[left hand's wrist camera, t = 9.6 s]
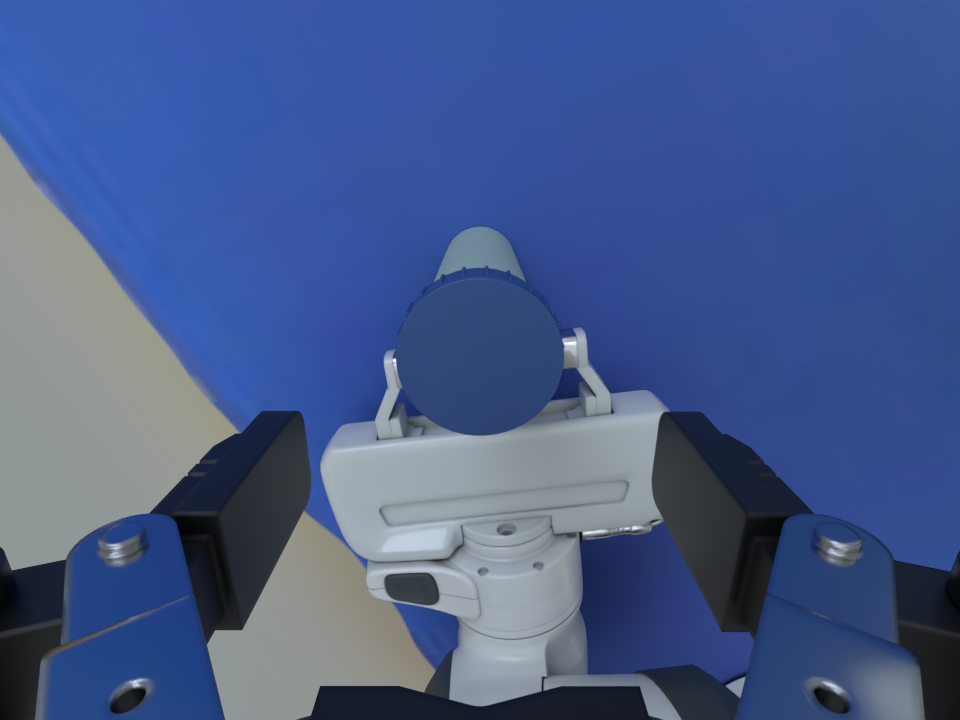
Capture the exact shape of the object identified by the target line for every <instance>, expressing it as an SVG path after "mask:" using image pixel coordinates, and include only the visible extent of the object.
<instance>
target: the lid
mask: <svg viewBox="0 0 960 720" xmlns="http://www.w3.org/2000/svg"><path fill="white" fill-rule="evenodd" d="M548 307H550V306H549V304H548V302H547V300H546V298H545V297H544V295H543V296H542V297H541V295H540V294H539V293H538V292H537V291H536V290H535V289H534V288H533V287H532V286H531V284H530V282H529V281H528V280H527V281H526V282H525V281H523V280H522V279H520V278H518V277H517V276H515V275H512V274H511V272H510V271H509V270H507V272H504V271H501V270H497V269H491V268H488V266H486V265H485V268H469V269H466V267H462V270H459V271H455V272H453V273H450V274H448V275H445V274H442V275H441V277H440V279H438V280H436V281H435V282H434V283H432V284H431V285H430V286H428V287H426V286H425V287H424V288H423V290H422V292H421V294H420V296H419V297H418V298H417V300H416V301H415V302H414V304H413V303H411V304H410V306H409V308H408V310H407V312H406V314H405V315H407V317H406V319H405V321H404V322H403V323H402V325H401V327H400V329H399V331H398V334H397V335H398V336H399V337H398V341H397V346H396V354H395V357H396V367H397V372H398V377H399V380H400V383H401V385H402V388H403V390H404V392H405V394H406V395H407V397H408V398H409V400H410V401H411V403H412V404H413V405H414V406H415V407H416V409H417V410H418V411H419V412H420V413H422V414H423V415H424V416H425V417H426V418H428V419H429V420H430V421H432V422H433V423H435V424H437V425H439V426H441V427H442V428H445V429H447V430H450V431H453V432H456V433H460V434H465V435H473V436H487V435H495V434H500V433H504V432H507V431H510V430H513V429H515V428H517V427H519V426H521V425H523V424H525V423H527V422H528V421H530V420H531V419H533V418H534V417H535V416H536V415H537V414H538V413H540V412H541V411H542V410H543V408H544V407H545V406H546V405H547V404H548V403H549V401H550V400H551V398H552V397H553V395H554V393H555V391H556V390H557V388H558V385H559V382H560V380H561V377H562V372H563V368H564V348H565V346H564V343H563V341H562V336H561V334H560V331H559V328H558V327H560V324H559V322H558V320H557V318H556V316H555V314H552V313H551V311H550V310H549V308H548Z"/></svg>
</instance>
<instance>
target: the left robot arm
mask: <svg viewBox="0 0 960 720" xmlns="http://www.w3.org/2000/svg"><path fill="white" fill-rule="evenodd" d="M310 490H311V471H310V463H309V456H308V448H307V441H306V433H305V426H304V420H303V417H302V414H301V413H300V412H299V411H262V412H261V413H260V414H259V415H258V416H257V417H256V418H255V419H254V420H253V421H252V422H251V424H250V425H249V426H248V427H247V428H246V429H245V430H244V431H243V432H242V434H234V435H232V436H231V437H229V438H227V439H225V440H224V441H222V442H220V443H218V444H217V445H215V446H213V447H212V449H211V450H210V451H209V452H208V453H207V454H206V455H205V456H204V457H203V458H202V459H201V460H200V463H199V464H196V465H195V466H194V467H193V468H192V469H191V470H190V471H189V472H188V476H185V477H184V478H183V479H182V480H181V481H180V482H179V483H178V484H177V485H176V486H175V487H174V488H173V489H172V490H171V491H170V492H169V493H168V494H167V495H166V496H165V498H164V499H163V500H162V501H161V502H160V503H159V504H158V505H157V506H156V507H155V508H154V509H153V510H152V511H151V512H150V513H149V514H140V515H135V516H130V517H126V518H122V519H119V520H116V521H113V522H111V523H109V524H106V525H104V526H102V527H100V528H98V529H96V530H95V531H93V532H91V533H90V534H88V535H87V536H85V537H84V538H83V539H81V540H80V541H79V542H78V543H77V544H76V545H75V546H74V547H73V548H72V550H71V551H70V552H69V554H68V556H67V559H66V560H62V561H57V562H52V563H47V564H42V565H37V566H32V567H27V568H22V569H17V570H11V568H10V565H9V562H8V560H7V557H6V555H5V552H4V550H3V549H2V548H1V547H0V720H225V718H224V714H223V710H222V705H221V701H220V697H219V693H218V689H217V685H216V681H215V677H214V673H213V669H212V665H211V661H210V657H209V652H208V648H207V643H208V642H209V640H210V638H211V636H212V635H213V633H214V631H215V630H242V629H243V627H244V625H245V624H246V621H247V620H248V618H249V616H250V614H251V612H252V610H253V608H254V606H255V604H256V602H257V600H258V598H259V596H260V594H261V592H262V591H263V589H264V587H265V585H266V583H267V581H268V579H269V577H270V575H271V573H272V571H273V569H274V567H275V565H276V563H277V561H278V559H279V557H280V555H281V554H282V552H283V550H284V548H285V546H286V544H287V542H288V540H289V538H290V536H291V534H292V532H293V530H294V528H295V526H296V524H297V522H298V521H299V519H300V517H301V515H302V513H303V511H304V509H305V507H306V505H307V503H308V500H309V496H310ZM652 493H653V498H654V502H655V504H656V507H657V508H658V510H659V512H660V514H661V516H662V518H663V520H664V522H665V524H666V526H667V528H668V530H669V531H670V533H671V535H672V537H673V539H674V541H675V543H676V545H677V547H678V549H679V551H680V552H681V554H682V556H683V558H684V560H685V562H686V564H687V566H688V568H689V570H690V572H691V574H692V575H693V577H694V579H695V581H696V583H697V585H698V587H699V589H700V591H701V593H702V595H703V597H704V598H705V600H706V602H707V604H708V606H709V608H710V610H711V612H712V614H713V616H714V618H715V620H716V621H717V623H718V625H719V627H720V629H721V631H722V632H750V634H751V636H752V637H753V639H754V644H753V648H752V652H751V656H750V660H749V665H748V669H747V673H746V677H745V681H744V685H743V689H742V693H741V697H740V701H739V705H738V709H737V714H736V718H735V720H960V551H959V552H958V555H957V557H956V560H955V562H954V565H953V567H952V570H951V572H949V571H944V570H939V569H934V568H930V567H925V566H920V565H915V564H910V563H905V562H900V561H896V560H894V559H893V556H892V554H891V552H890V551H889V549H888V548H887V547H886V546H885V545H884V544H883V543H882V542H881V541H880V540H879V539H877V538H876V537H875V536H873V535H872V534H870V533H869V532H867V531H865V530H864V529H862V528H860V527H858V526H856V525H854V524H851V523H849V522H847V521H844V520H841V519H838V518H834V517H830V516H826V515H821V514H814V513H813V512H812V511H811V510H810V509H809V508H808V507H807V506H806V505H805V504H804V503H803V502H802V501H801V500H800V498H799V497H798V496H797V495H796V494H795V493H794V492H793V491H792V490H791V489H790V488H789V487H788V486H787V485H786V484H785V483H784V482H783V481H782V480H781V479H780V478H779V477H776V474H775V473H774V472H773V471H772V470H771V469H770V467H769V466H768V465H764V461H763V460H762V459H761V458H760V457H759V456H758V455H757V454H756V453H755V452H754V451H753V450H752V449H751V448H750V447H749V446H747V445H745V444H743V443H742V442H740V441H738V440H736V439H735V438H733V437H731V436H729V435H728V434H721V433H720V432H719V431H718V430H717V428H716V427H715V426H714V425H713V424H712V423H711V422H710V421H709V420H708V419H707V417H706V416H705V415H704V414H703V413H701V412H663V413H662V415H661V417H660V420H659V425H658V432H657V440H656V447H655V455H654V462H653V470H652ZM298 720H662V719H660V718H656V717H652V716H649V714H648V711H647V708H646V705H645V701H644V698H643V695H642V692H641V689H640V686H560V687H556V688H552V689H548V690H545V691H541V692H537V693H533V694H529V695H525V696H522V697H518V698H514V699H510V700H506V701H503V702H499V703H495V704H491V705H487V706H473V705H469V704H465V703H461V702H457V701H454V700H450V699H446V698H442V697H438V696H434V695H431V694H427V693H423V692H419V691H415V690H412V689H408V688H404V687H400V686H320V689H319V692H318V695H317V698H316V702H315V705H314V708H313V711H312V714H311V716H308V717H304V718H300V719H298Z"/></svg>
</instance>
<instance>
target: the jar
mask: <svg viewBox="0 0 960 720" xmlns="http://www.w3.org/2000/svg"><path fill="white" fill-rule="evenodd" d="M485 265H486V266H488V268H491V269H497V270H501V271H504V272H507V270H509V271H510V272H511V274H512V275H515V276H517V277H518V278H520V279H522V280H523V281H525V282H526V280H525V278H524V276H523V273H522V271H521V268H520V266H519V263H518V261H517V258H516V256H515V253H514V251H513V248H512V246H511V244H510V243H509V241H508V240H507V239H506V238H505V237H504V236H503V235H502V234H501V233H499V232H498V231H496V230H493V229H491V228H487V227H473V228H469V229H467V230H464V231H463V232H461V233H459V234H458V235H457V236H456V237H455V238H454V239H453V240H452V241H451V243H450V244H449V246H448V249H447V251H446V253H445V256H444V258H443V261H442V263H441V266H440V268H439V271H438V273H437V276H436V278H435V281H436V280H438V279H440V277H441V275H442V274H445V275H448V274H450V273H453V272H455V271H459V270H462V267H466V269H469V268H485ZM435 281H434V282H435Z"/></svg>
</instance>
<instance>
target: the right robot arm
mask: <svg viewBox="0 0 960 720" xmlns="http://www.w3.org/2000/svg"><path fill="white" fill-rule="evenodd" d="M559 331H560V334H561V336H562V341H563V343H564V346H565V348H564V368H563V369H568V368H576V369H577V370H578V371H579V373H580V374H581V375H582V377H583V378H584V379H585V381H586V382H580V383H579V397H577V398H568V399H559V400H551V401H549V403H548V404H547V405H546V406H545V407H544V408H543V410H542V411H541V412H540V413H538V414H537V415H536V416H535V417H534V418H533V419H531V420H530V421H528V422H527V423H525V424H523V425H521V426H519V427H517V428H515V429H513V430H510V431H507V432H504V433H500V434H495V435H487V436H473V435H465V434H460V433H456V432H453V431H450V430H447V429H445V428H442V427H441V426H439V425H437V424H435V423H433V422H432V421H430V420H429V419H428V418H426V417H425V416H424V415H420V416H411V417H407V414H406V409H405V405H404V404H403V403H397V404H396V405H395V401H396V399H397V396H398V394H399V391H400V388H402V385H401V383H400V380H399V377H398V372H397V367H396V357H395V354H396V350H390V351H387V352H386V354H385V356H384V369H385V374H386V379H387V384H388V388H387V390H386V393H385V395H384V398H383V401H382V403H381V406H380V408H379V411H378V414H377V416H376V419H375V421H368V422H359V423H350V424H344V425H342V426H341V427H340V428H339V429H338V430H337V431H336V433H335V434H334V436H333V437H332V438H331V440H330V442H329V443H328V445H327V447H326V449H325V451H324V453H323V456H322V459H321V464H320V469H321V475H322V479H323V483H324V487H325V490H326V493H327V496H328V499H329V502H330V505H331V508H332V510H333V513H334V515H335V518H336V520H337V523H338V525H339V527H340V530H341V532H342V534H343V536H344V538H345V540H346V541H347V543H348V544H349V546H350V547H351V548H352V549H353V550H354V551H355V552H356V553H357V554H359V555H360V556H362V557H363V558H366V559H368V564H367V573H366V584H367V588H368V591H369V593H370V594H371V595H372V596H373V597H375V598H377V599H380V600H384V601H390V602H397V603H403V604H410V605H415V606H421V607H425V608H430V609H434V610H438V611H442V612H445V613H448V614H452V615H455V616H456V617H457V619H458V622H459V631H458V648H456V649H452V650H451V651H450V652H449V653H448V654H447V655H446V657H445V658H444V659H443V661H442V662H441V664H440V665H439V667H438V669H437V670H436V672H435V674H434V675H433V677H432V679H431V680H430V682H429V684H428V685H427V687H426V690H425V692H424V693H427V694H431V695H434V696H438V697H442V698H446V699H450V700H454V701H457V702H461V703H465V704H469V705H473V706H487V705H491V704H495V703H499V702H503V701H506V700H510V699H514V698H518V697H522V696H525V695H529V694H533V693H537V692H541V691H545V690H548V689H552V688H556V687H560V686H640V689H641V692H642V695H643V698H644V701H645V705H646V708H647V711H648V714H649V716H652V717H656V718H660V719H662V720H735V718H736V714H737V709H738V705H739V701H740V697H741V693H742V689H743V685H744V681H745V677H746V676H745V677H743V678H740V679H738V680H735V681H733V682H731V683H729V684H727V685H726V686H725V685H723V684H722V683H721V682H719V681H718V680H716V679H715V678H714V677H712V676H711V675H709V674H708V673H706V672H705V671H703V670H702V669H700V668H699V667H697V666H695V665H683V666H675V667H667V668H658V669H650V670H641V671H636V672H635V673H634V674H596V675H588V651H587V634H586V627H585V623H584V620H583V617H582V614H581V612H580V610H579V608H580V605H581V601H582V595H583V578H582V563H581V550H580V542H581V541H586V540H596V539H605V538H610V537H614V536H618V535H628V534H630V535H642V534H646V533H649V532H651V531H652V527H654V526H657V525H659V524H661V523H663V522H664V520H663V518H662V516H661V514H660V512H659V510H658V508H657V507H656V504H655V502H654V498H653V493H652V470H653V462H654V455H655V447H656V440H657V432H658V425H659V420H660V417H661V415H662V413H663V412H670V411H669V409H668V408H667V407H666V406H665V405H664V404H663V402H662V401H660V400H659V399H658V398H657V397H656V396H655V395H654V394H652V393H651V392H650V391H647V390H638V391H629V392H620V393H612V394H610V392H609V390H608V389H607V387H606V385H605V384H604V382H603V380H602V379H601V377H600V376H599V374H598V373H597V372H596V370H595V369H594V368H593V366H592V365H591V363H590V362H589V361H588V352H587V339H586V334H585V332H584V330H583V329H582V327H579V328H573V329H572V328H571V329H563V330H559Z"/></svg>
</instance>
